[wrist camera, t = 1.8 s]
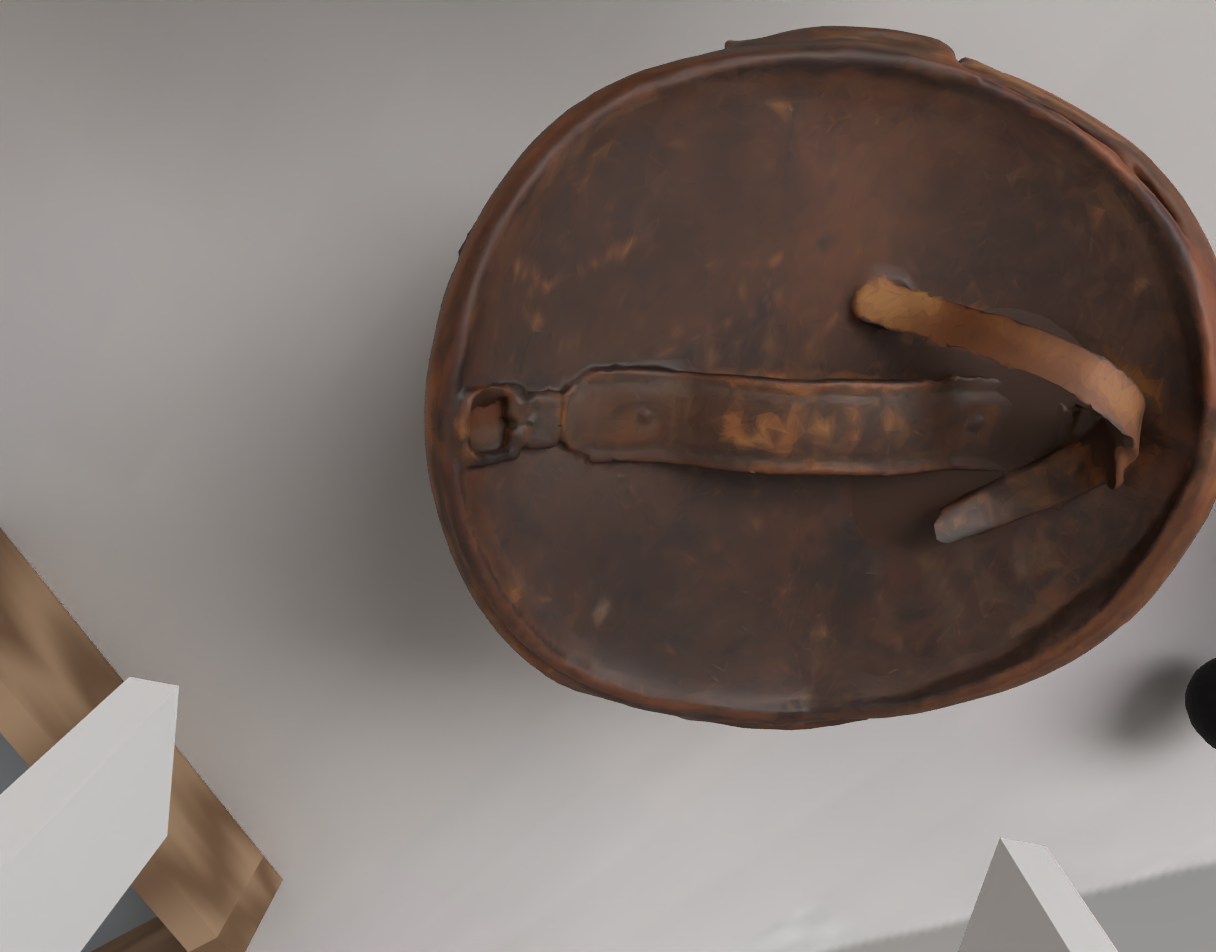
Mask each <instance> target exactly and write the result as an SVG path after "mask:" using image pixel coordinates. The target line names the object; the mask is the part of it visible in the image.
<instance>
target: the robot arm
mask: <svg viewBox="0 0 1216 952" xmlns="http://www.w3.org/2000/svg"><path fill="white" fill-rule="evenodd" d="M178 695H179V686H178V685H172V684H167V683H161V682H156V681H151V680H145V679H140V678H134V677H129V678H128V679H126V680H125V681H124V682H123V683H122V684H121V685H120V686H119V687H118V688H117V689H116V690H114V691H113V692H112V693H111V694H110V695H109V696H108V697H107V698H106V699H105V700H103V701H102V702H101V703H100V704H99V705H98V706H97V707H96V708H95V709H94V710H92V711H91V712H90V713H89V714H88V715H87V716H86V717H85V718H84V719H83V720H82V721H80V722H79V723H78V724H77V725H76V726H75V727H74V728H73V729H72V730H71V731H69V732H68V733H67V734H66V735H65V736H64V737H63V738H62V739H61V740H60V741H59V742H57V743H56V744H55V745H54V746H53V747H52V748H51V749H50V750H49V751H48V752H46V753H45V754H44V755H43V756H42V757H41V758H40V759H39V760H38V761H37V762H36V763H34V764H33V765H32V766H31V767H30V768H29V769H28V770H27V771H26V772H25V773H23V774H22V775H21V776H20V777H19V778H18V779H17V780H16V781H15V782H14V783H12V784H11V785H10V786H9V787H8V788H7V789H6V790H5V791H4V792H3V793H2V794H0V952H81V950H82V949H83V948H84V946H85V945H86V944H87V942H88V941H89V940H90V938H91V937H92V936H93V934H94V933H95V932H96V930H97V929H98V928H99V926H100V925H101V924H102V922H103V921H104V920H105V918H106V917H107V916H108V914H109V913H110V912H111V910H112V909H113V908H114V906H115V905H116V904H117V902H118V901H119V900H120V898H121V897H122V896H123V894H124V893H125V892H126V890H127V889H128V888H129V886H130V885H131V884H132V882H133V881H134V880H135V878H136V877H137V876H138V874H139V873H140V872H141V870H142V869H143V868H144V866H145V865H146V864H147V862H148V861H149V860H150V858H151V857H152V856H153V854H154V853H155V852H156V850H157V849H158V848H159V846H160V845H161V844H162V842H163V841H164V840H165V838H166V837H167V833H168V820H169V808H170V795H171V783H172V770H173V758H174V745H175V733H176V720H177V708H178ZM958 952H1118V951H1117V949H1116V948H1115V946H1114V945H1113V944H1112V942H1111V941H1110V939H1109V938H1108V936H1107V935H1106V933H1105V932H1104V931H1103V929H1102V927H1101V926H1100V924H1099V923H1098V922H1097V920H1096V919H1095V917H1094V916H1093V914H1092V913H1091V911H1090V910H1089V908H1088V907H1087V906H1086V904H1085V903H1084V901H1083V899H1082V898H1081V896H1080V895H1079V894H1078V892H1077V891H1076V889H1075V888H1074V886H1073V885H1072V883H1071V882H1070V880H1069V879H1068V877H1067V876H1066V874H1065V873H1064V872H1063V870H1062V869H1061V867H1060V866H1059V864H1058V863H1057V861H1056V860H1055V858H1054V857H1053V855H1052V854H1051V852H1050V851H1049V849H1048V848H1047V847H1046V846H1042V845H1037V844H1031V843H1026V842H1021V841H1015V840H1010V839H1004V838H1000V839H999V842H998V845H997V847H996V850H995V853H994V855H993V858H992V861H991V864H990V866H989V869H988V872H987V874H986V877H985V880H984V883H983V885H982V888H981V891H980V893H979V896H978V899H977V901H976V904H975V907H974V910H973V912H972V915H971V918H970V920H969V923H968V926H967V929H966V931H965V934H964V937H963V939H962V942H961V945H960V948H959V950H958Z"/></svg>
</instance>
